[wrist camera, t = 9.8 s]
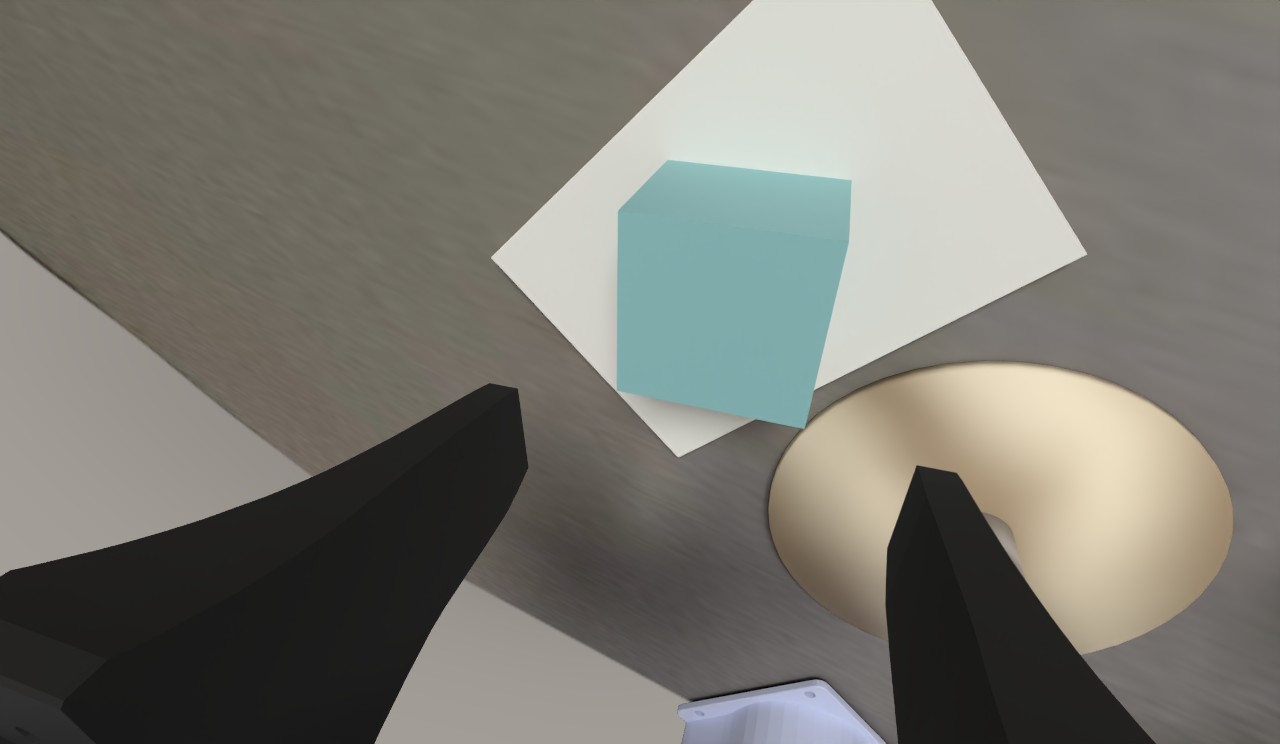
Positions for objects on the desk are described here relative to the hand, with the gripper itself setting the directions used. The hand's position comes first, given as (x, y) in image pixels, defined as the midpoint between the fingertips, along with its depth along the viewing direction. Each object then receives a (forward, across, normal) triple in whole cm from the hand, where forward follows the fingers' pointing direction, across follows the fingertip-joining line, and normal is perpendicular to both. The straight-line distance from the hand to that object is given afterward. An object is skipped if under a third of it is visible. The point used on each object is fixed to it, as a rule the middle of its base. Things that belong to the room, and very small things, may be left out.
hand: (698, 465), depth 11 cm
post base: (+9, -8, +9) cm, 15 cm away
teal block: (+9, 0, 0) cm, 9 cm away
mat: (+9, 0, 0) cm, 9 cm away
